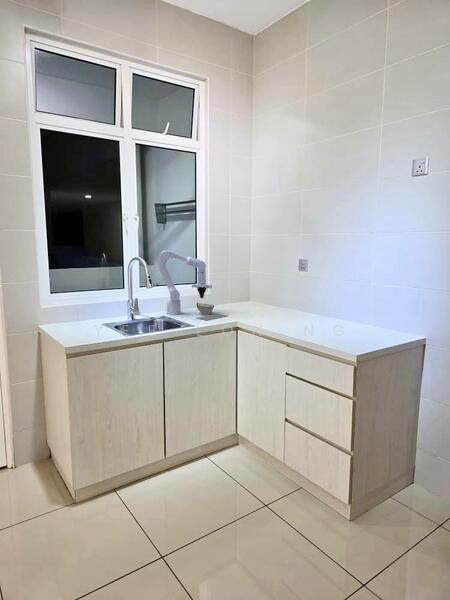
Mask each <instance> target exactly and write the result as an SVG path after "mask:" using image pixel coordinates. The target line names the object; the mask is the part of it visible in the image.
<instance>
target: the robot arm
mask: <svg viewBox="0 0 450 600" xmlns="http://www.w3.org/2000/svg"><path fill="white" fill-rule="evenodd" d="M169 259H177V260H180V261H183V262H185V263H186V264H187V265H188V266H190V267H193V268H197V272H196V273H197V274H196V275H197V280H196V281H197V284H194V283H192V284H191V288H196V290H197V292H198V295H199V297H200V299H204V296H205V293H206V291H207V289H212V287H213V286H212V284H207V276H206V275H207V273H206V272H207V271H206V267H207V265H206V262H205V261H203V260H201V259H199V258H198V259H197V258H194V256H185V255H182V254H180V253H177V252H176V251H171V250H167V249H165V250H162V251H161V252H160V253H159V255H158V262H157V266H158V269H159V271H160V274H161V276H162V278H163V281H164V282H165V285H166V287H167V289H168V292H169V297H170V299H169V300H168V301H167V303H166V310H167V311H166V314H167V315H174V316H175V315H176V316H177V315H180V314H181V315H182V314H184V311H183V312H182V309H181V308H182V307H181V299H180V295H181V294H180V292H179V291H178V290H177V288H176V286H175V284H174V282H173V280H172V278H171V274H170V272H169V270H168V267H167V262H168V260H169Z"/></svg>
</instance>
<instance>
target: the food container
mask: <svg viewBox="0 0 450 600" xmlns="http://www.w3.org/2000/svg"><path fill="white" fill-rule="evenodd" d="M196 308H197V310H198V311H199V312H200V314H201V315H203V316H209V315H211V313H212V312H213V310H214V308H215V305H214V304H208V303H200V302H196Z"/></svg>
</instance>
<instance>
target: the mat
mask: <svg viewBox="0 0 450 600" xmlns="http://www.w3.org/2000/svg"><path fill="white" fill-rule="evenodd" d="M225 317H229V315H227V314H221V313H216V314H215V313H214V314H208V315H203V316H200V317H195V319H197V320H200V321H201V320H202V321H212V320H216V319H222V318H225Z"/></svg>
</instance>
